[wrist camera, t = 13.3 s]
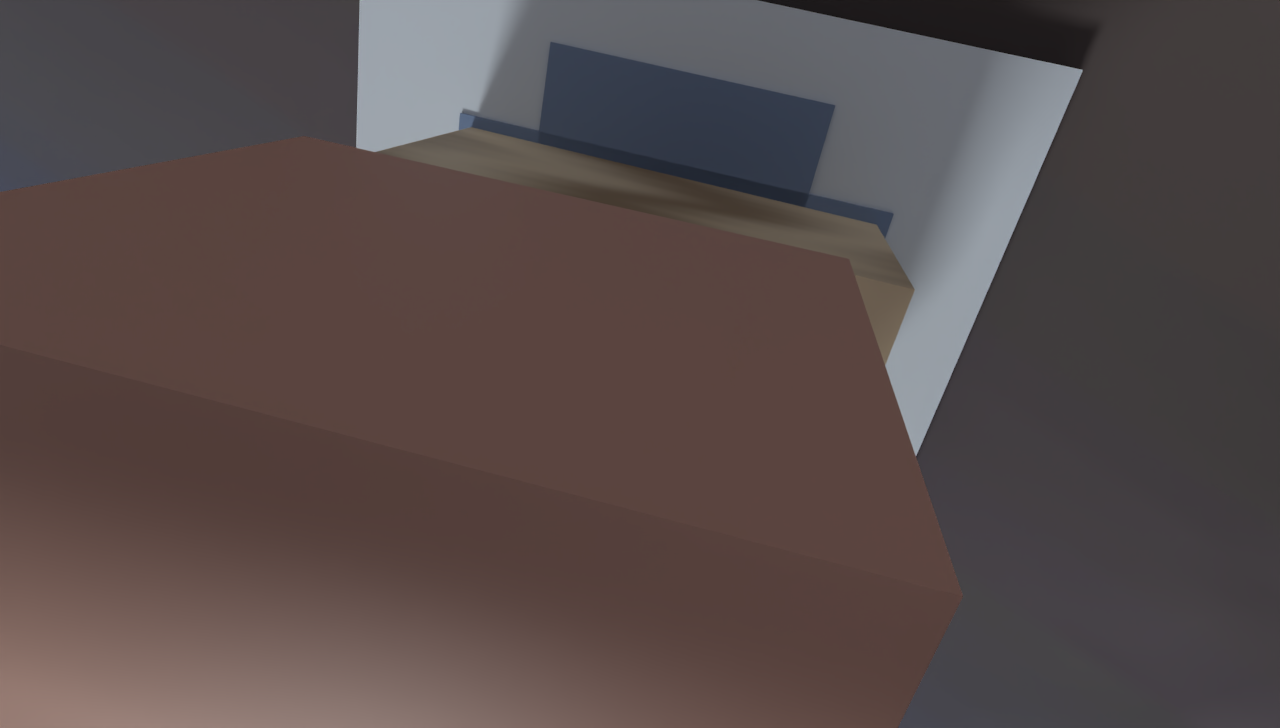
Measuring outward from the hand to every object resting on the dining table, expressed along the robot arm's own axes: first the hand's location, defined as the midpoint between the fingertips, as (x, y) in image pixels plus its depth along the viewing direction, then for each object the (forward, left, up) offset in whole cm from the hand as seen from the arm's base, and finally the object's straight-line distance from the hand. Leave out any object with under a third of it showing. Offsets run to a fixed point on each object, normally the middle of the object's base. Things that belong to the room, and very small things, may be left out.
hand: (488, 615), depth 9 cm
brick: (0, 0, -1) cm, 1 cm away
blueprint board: (0, -1, -12) cm, 12 cm away
